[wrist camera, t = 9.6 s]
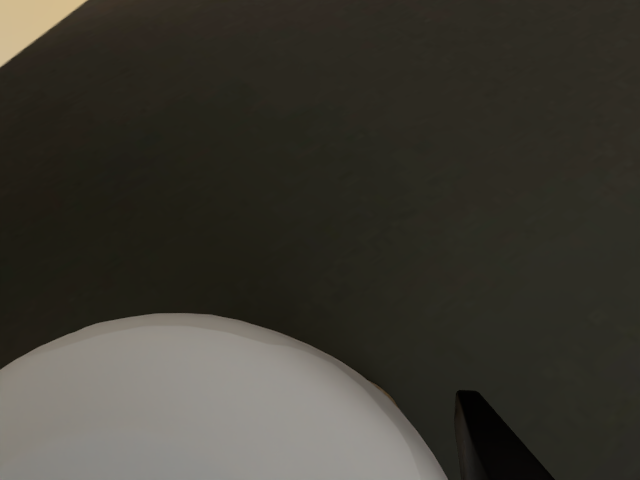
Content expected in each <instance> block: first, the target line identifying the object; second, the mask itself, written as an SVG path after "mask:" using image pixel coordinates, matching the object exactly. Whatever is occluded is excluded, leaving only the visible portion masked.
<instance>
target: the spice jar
mask: <svg viewBox="0 0 640 480" xmlns="http://www.w3.org/2000/svg"><path fill="white" fill-rule="evenodd" d="M0 480H448V478H447V477H446V475H445V473H444V472H443V470H442V468H441V466H440V465H439V463H438V461H437V460H436V458H435V456H434V455H433V453H432V452H431V450H430V449H429V448H428V446H427V445H426V443H425V442H424V440H423V439H422V438H421V436H420V435H419V433H418V432H417V431H416V429H415V428H414V427H413V426H412V424H411V423H410V422H409V421H408V420H407V418H406V417H405V416H404V415H403V413H402V412H401V411H400V410H399V408H398V407H397V405H396V403H395V401H394V400H393V399H392V398H391V397H390V396H389V395H388V394H387V393H386V392H385V391H384V390H383V389H381V388H380V387H379V386H377V385H376V384H374V383H372V382H370V381H368V380H366V379H365V378H364V377H363V376H361V375H360V374H359V373H357V372H356V371H354V370H353V369H351V368H350V367H348V366H347V365H345V364H344V363H342V362H341V361H339V360H337V359H336V358H334V357H332V356H330V355H328V354H326V353H324V352H322V351H320V350H318V349H316V348H314V347H312V346H310V345H308V344H306V343H303V342H301V341H298V340H296V339H294V338H291V337H289V336H286V335H284V334H281V333H279V332H276V331H273V330H270V329H266V328H263V327H260V326H257V325H253V324H250V323H247V322H244V321H240V320H236V319H230V318H225V317H220V316H215V315H207V314H191V313H157V314H149V315H142V316H135V317H128V318H122V319H117V320H112V321H106V322H101V323H97V324H94V325H91V326H88V327H85V328H83V329H81V330H79V331H77V332H74V333H70V334H68V335H65V336H63V337H61V338H58V339H56V340H54V341H51V342H49V343H47V344H44V345H42V346H40V347H38V348H36V349H34V350H32V351H31V352H29V353H27V354H25V355H23V356H22V357H20V358H18V359H16V360H14V361H13V362H11V363H10V364H8V365H7V366H5V367H4V368H2V369H1V370H0Z"/></svg>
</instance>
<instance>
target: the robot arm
mask: <svg viewBox="0 0 640 480" xmlns="http://www.w3.org/2000/svg"><path fill="white" fill-rule="evenodd" d="M454 424H455V434H456V442H457V449H458V457H459V464H460V472H461V479H462V480H555V479H554V478H553V477H552V476H551V475H550V473H549V472H548V471H547V470H546V469H545V468H544V467H543V465H542V464H541V463H540V462H539V461H538V460H537V459H536V457H535V456H534V455H533V454H532V453H531V452H530V451H529V449H528V448H527V447H526V446H525V445H524V444H523V443H522V441H521V440H520V439H519V438H518V437H517V436H516V435H515V433H514V432H513V431H512V430H511V429H510V428H509V426H508V425H507V424H506V423H505V422H504V421H503V420H502V418H501V417H500V416H499V415H498V414H497V413H496V412H495V410H494V409H493V408H492V407H491V406H490V405H489V404H488V402H487V401H486V400H485V399H484V398H483V397H482V396H481V394H480V393H479V392H477V391H469V390H459V391H457V393H456V400H455V418H454Z"/></svg>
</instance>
